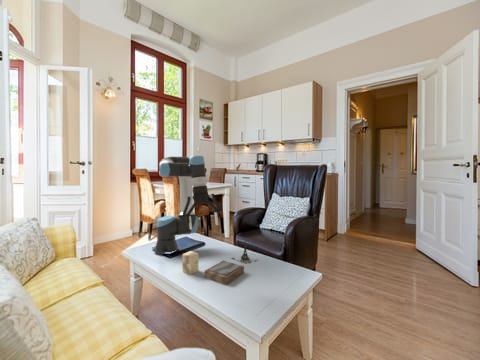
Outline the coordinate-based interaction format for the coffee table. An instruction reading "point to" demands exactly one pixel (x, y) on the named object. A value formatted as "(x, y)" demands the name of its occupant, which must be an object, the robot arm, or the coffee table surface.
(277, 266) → the coffee table surface
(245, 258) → the eiffel tower figurine
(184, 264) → the oak block
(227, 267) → the walnut frame
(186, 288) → the coffee table surface
